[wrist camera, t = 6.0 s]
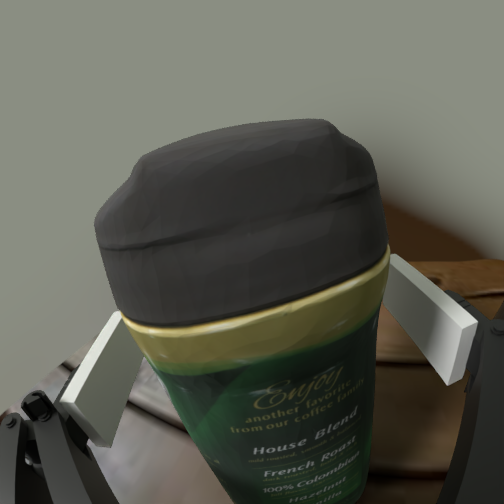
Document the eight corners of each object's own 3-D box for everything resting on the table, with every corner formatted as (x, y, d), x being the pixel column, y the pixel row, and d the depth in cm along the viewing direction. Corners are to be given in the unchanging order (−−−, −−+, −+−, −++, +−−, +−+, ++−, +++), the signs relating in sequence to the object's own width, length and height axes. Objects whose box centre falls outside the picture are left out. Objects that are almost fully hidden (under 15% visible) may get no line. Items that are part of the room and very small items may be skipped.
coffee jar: (385, 497, 11) (431, 92, 5) (250, 546, 10) (10, 177, 3) (323, 399, 20) (283, 127, 14) (221, 432, 19) (122, 165, 12)
